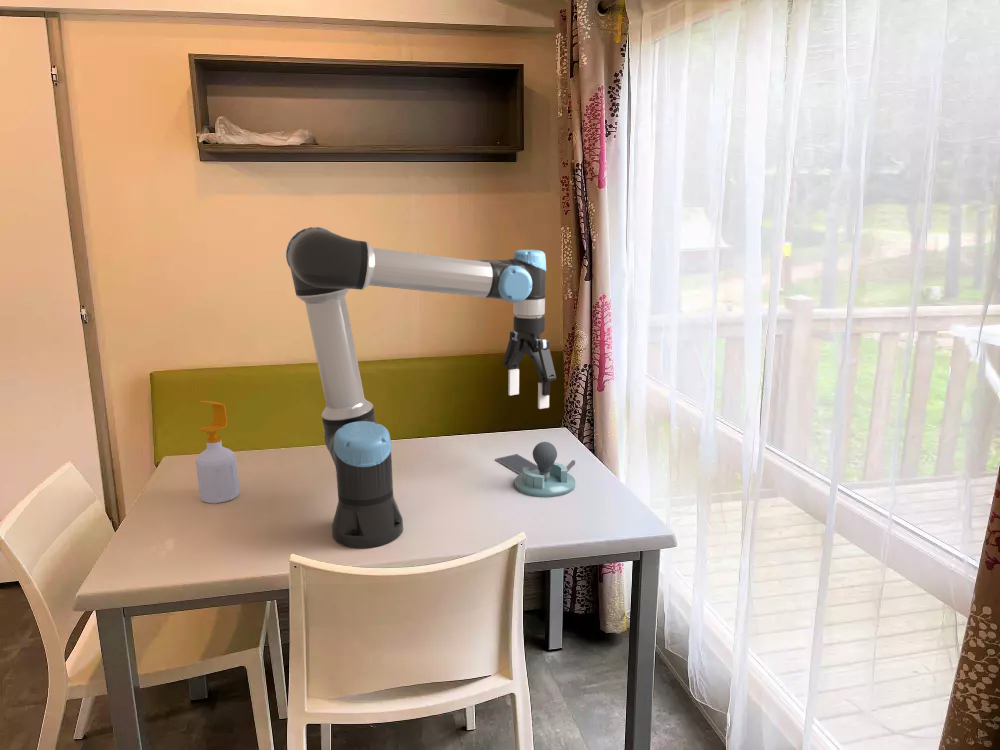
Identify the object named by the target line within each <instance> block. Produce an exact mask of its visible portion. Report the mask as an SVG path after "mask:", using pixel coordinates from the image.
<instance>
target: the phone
mask: <svg viewBox="0 0 1000 750" xmlns="http://www.w3.org/2000/svg"><path fill="white" fill-rule="evenodd" d="M494 461H495V462H497V463H499V464H500V465H502V466H504V467H506V468H507V469H509V470H511V471H512V472H514V473H515V474H517V475H519V474H521V473H523V467H529V471H531V470H538V466H537V464H536V463H534V462H532V461H531V460H528V459H526V458H525V457H523V456H521V455H519V453H516V454H511V455H505V456H502V457H497V458H495V459H494Z"/></svg>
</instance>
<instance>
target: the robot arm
mask: <svg viewBox="0 0 1000 750" xmlns="http://www.w3.org/2000/svg"><path fill="white" fill-rule="evenodd" d="M285 257H286V258H285V259H286V262H287V266H288V267H289V269H290V271H291V272H290V273H291V277H292V282H293V287H294V291H295V296H296V297H297V298H298V299H300V301H303V302H304V304H305V308H306V313H307V318H308V322H309V328H310V332H311V336H312V342H313V347H314V352H315V356H316V361H317V366H318V370H319V371H318V372H319V376H320V381H321V385H322V391H323V394H324V395H323V396H324V400H325V408H324V409H323V411H322V412H321V421H322V425H323V430H324V443H325V446H326V448H327V450H328V452H329V455H330V457H331V459H332V461H333V463H334V466H335V473H336V474H335V475H336V485H337V487H336V488H337V495H338V496H337V497H338V498H337V499H338V502H337V506H336V510H335V513H334V516H333V521H332V524H331V529H332V530H331V532H332V533H331V534H332V539H333V540H334V541H335V542H336V543H338V544H339V545H342V546H345V547H349V548H357V549H365V548H374V547H380V546H383V545H386V544H388V543H391V542H393V541H395V540H396V539H398V538H399V537H400V536H401V535H402V534H403V532H404V521H403V519H404V518H403V516H402V514H401V511H400V509H399V507H398V504H397V502H396V500H395V497H394V484H393V483H394V482H393V466H392V465H393V464H392V462H393V461H392V445H393V444H392V440H391V435H390V432H389V430H388V428H386V427H385V426H384V425H382V424H380V423H377V421H376V420H377V419H376V415H375V410H374V409H375V408H374V404H373V403H372V402H370V401H369V400H367V399H366V398H365V394H364V388H363V382H362V378H361V377H362V376H361V374H360V368H359V361H358V358H357V357H358V356H357V351H356V346H355V341H354V335H353V329H352V325H351V320H350V315H349V310H348V304H347V299H346V296H347V293H349V290H351V289H352V290H361V291H362V290H363V291H364V289H366V288H367V287H368V286H371V287H381V288H389V289H390V288H391V289H401V290H409V291H410V290H411V291H419V292H429V293H430V292H431V293H439V294H449V295H459V296H468V297H469V296H470V297H480V298H485V299H486V298H487V299H494V300H503V301H505V302H508V303H513V314H514V315H515V316H514V317H513V327H512V328H513V330H512V331H510V332H509V341H508V344H507V347H506V351H505V354H504V357H503V361H502V364H503V366H506V369H507V374H508V376H507V379H508V380H507V381H508V384H507V385H508V388H507V389H508V390H507V392H508V393H507V394H508V396H514V395H520V366H519V365H520V363H521V362H522V360H523V357H524V356H525V354H526V355H527V356H529V358H530V359H531V360H532V363H533V365H534V368H535V370H536V372H537V375H538V377H539V381H538V382H537V386H538V388H537V389H538V391H537V408H538V410H542V409H549V408H550V394H551V382H553V381H556V380H557V375H556V374H557V373H556V371H555V367H554V362H553V358H552V354H551V350H550V340H549V339H548V338H547V339H545V338H544V339H542V338H541V334H542V333H544V332H545V329H546V317H545V316H544V315H545V314H546V312H545V311H546V279H547V277H546V276H547V259H546V253H545V252H544V251H542V250H539V249H517V250H515V251H514V253H513V257H512V258H510V259H487V260H486V259H478V260H473V259H465V258H464V259H463V258H457V257H449V256H441V255H435V254H434V255H433V254H425V253H419V252H410V251H409V252H408V251H402V250H394V249H386V248H378V247H372V246H371V245H370V243H369V242H368V241H363V240H356V239H352V238H349V237H345V236H341V235H340V234H336V233H334V232H332V231H330V230H328V229H327V228H324V227H321V226H320V227H318V226H316V227H315V226H314V227H311V226H310V227H307V228H303V229H301V230H299V231H298V232H296V233H294V235H292V237H291V238H290V239H289V241H288V244H287V246H286V251H285Z"/></svg>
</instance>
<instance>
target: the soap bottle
mask: <svg viewBox="0 0 1000 750" xmlns="http://www.w3.org/2000/svg"><path fill="white" fill-rule="evenodd" d="M198 403H201V404H207V405H211V406H212V413H213V423H211V424H209V425H206V426H203V427H200V429H199V431H200V432H204V433H205V432H206V434H208V435H209V437H208V438H206V449H204V450H202V451H201V452H200V453H199V454H198V455H197V457H196V459H195V460H196V461H195V466H196V469H195V470H196V474H197V475H196V476H197V483H198V491H199V499H200V500H201V502H203V501H204V502H203V503H206V502H207V504H221V502H223V503H226V502H225V501H227V502H229V500H230V501H232V500H234V499H236V498H237V497H238V496H239V495H240V492H241V491H240V479H239V473H238V464H237V463H238V462H237V461H238V460H237V456H236V454H235V452H234V451H233V450H232V449H230V448H227V447H225V446H223V444H222V438H221V436H218V433H220V430H222V429H225V428H226V427H227V426H228V416H227V408H226V405H225V403H222V402H217V401H211V400H198Z"/></svg>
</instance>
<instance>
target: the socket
mask: <svg viewBox="0 0 1000 750" xmlns="http://www.w3.org/2000/svg"><path fill="white" fill-rule="evenodd" d="M575 464H576V460H574V459H573V460H571V461H570V462H569V463H568V465H566V466H565V465H564V464H563V463H560V462H557V461H555V462H554V463H553V464H552V467H551V471H550V474H549V479H547V480H544V475H540V472H539V470H531V471H529V467H523V473H521V474H517V475H516V477H515V478H514V487H515V489H516V490H517V491H518V492H519V493H522V494H524V495H527V496H532V497H539V498H554V497H560V496H561V497H562V496H564V495H567V494H569V493H571V492H572V491H574V490H575V488H576V480H575V477H574V476H572V475H571V474H570V473H568V472H569V471H570V470H571V469H572V468H573V467H574V465H575Z"/></svg>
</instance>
